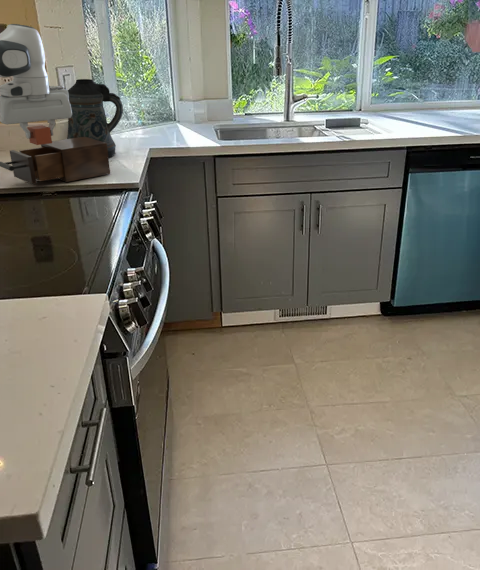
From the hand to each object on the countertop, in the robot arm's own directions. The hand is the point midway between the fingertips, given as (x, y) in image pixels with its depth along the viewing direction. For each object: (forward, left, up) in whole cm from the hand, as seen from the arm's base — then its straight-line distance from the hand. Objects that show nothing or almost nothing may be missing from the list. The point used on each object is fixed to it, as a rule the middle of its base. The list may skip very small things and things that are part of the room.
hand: (39, 136), depth 172 cm
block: (0, 0, -2) cm, 2 cm away
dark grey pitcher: (+28, +19, -13) cm, 36 cm away
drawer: (-2, 0, -12) cm, 12 cm away
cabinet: (+10, 0, -13) cm, 16 cm away
